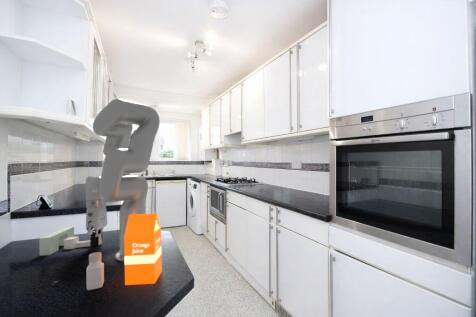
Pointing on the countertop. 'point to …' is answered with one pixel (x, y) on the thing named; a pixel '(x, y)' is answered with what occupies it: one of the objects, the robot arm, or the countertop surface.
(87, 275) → the salt shaker
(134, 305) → the countertop surface
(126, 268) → the orange juice
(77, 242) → the plug
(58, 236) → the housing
